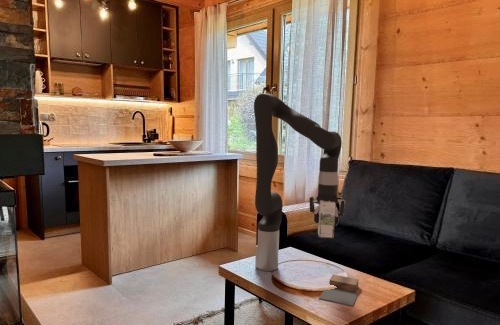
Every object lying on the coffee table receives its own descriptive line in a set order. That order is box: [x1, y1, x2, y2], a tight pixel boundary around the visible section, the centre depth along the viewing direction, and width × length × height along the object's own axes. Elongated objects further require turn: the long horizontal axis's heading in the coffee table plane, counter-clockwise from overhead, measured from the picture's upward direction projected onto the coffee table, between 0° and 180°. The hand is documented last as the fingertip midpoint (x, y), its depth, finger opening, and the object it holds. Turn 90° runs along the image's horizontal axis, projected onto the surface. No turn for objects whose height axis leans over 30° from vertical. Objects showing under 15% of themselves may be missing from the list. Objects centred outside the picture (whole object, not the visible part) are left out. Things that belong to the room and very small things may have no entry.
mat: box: [318, 288, 359, 307], centre depth 136 cm, size 12×11×1 cm
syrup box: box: [317, 200, 335, 239], centre depth 145 cm, size 6×6×14 cm
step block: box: [329, 273, 360, 293], centre depth 144 cm, size 10×6×3 cm, turn 64°
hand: (326, 224), depth 145 cm, fingers closed on syrup box, 7 cm apart
